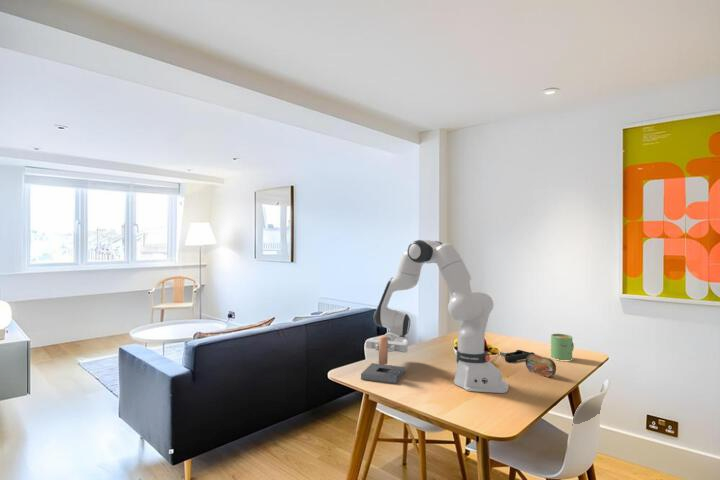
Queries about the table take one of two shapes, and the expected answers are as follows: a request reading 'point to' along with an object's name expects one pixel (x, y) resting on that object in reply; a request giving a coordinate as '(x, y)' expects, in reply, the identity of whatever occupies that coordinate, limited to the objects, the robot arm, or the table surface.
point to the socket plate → (383, 373)
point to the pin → (383, 349)
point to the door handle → (515, 355)
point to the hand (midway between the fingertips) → (382, 349)
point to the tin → (540, 365)
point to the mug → (561, 346)
